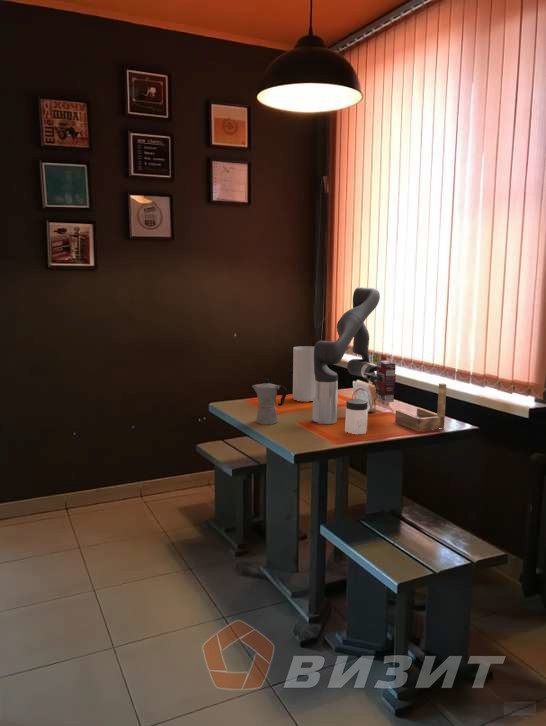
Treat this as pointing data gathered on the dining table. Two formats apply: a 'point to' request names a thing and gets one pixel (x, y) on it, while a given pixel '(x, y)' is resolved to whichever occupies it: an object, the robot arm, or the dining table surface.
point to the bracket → (425, 415)
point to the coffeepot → (268, 401)
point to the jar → (356, 416)
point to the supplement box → (385, 381)
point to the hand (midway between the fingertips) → (387, 379)
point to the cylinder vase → (303, 373)
